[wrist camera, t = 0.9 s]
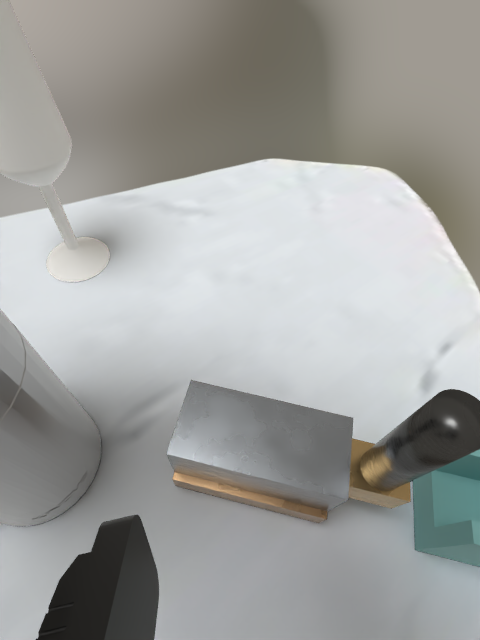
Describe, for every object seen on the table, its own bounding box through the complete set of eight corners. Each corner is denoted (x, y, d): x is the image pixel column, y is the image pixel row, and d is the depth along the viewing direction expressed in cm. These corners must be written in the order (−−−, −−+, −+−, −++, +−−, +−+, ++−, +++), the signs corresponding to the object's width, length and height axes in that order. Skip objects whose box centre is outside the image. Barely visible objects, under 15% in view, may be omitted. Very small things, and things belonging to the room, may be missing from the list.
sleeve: (175, 485, 28) (163, 462, 22) (198, 412, 32) (193, 373, 26) (318, 523, 28) (347, 509, 21) (326, 443, 31) (353, 410, 25)
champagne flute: (108, 233, 43) (14, -56, 23) (111, 276, 40) (3, -21, 20) (47, 241, 42) (-108, -56, 22) (44, 286, 38) (-143, -18, 19)
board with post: (191, 457, 26) (173, 384, 16) (203, 417, 28) (193, 327, 18) (391, 508, 25) (512, 465, 15) (391, 463, 27) (500, 395, 16)
